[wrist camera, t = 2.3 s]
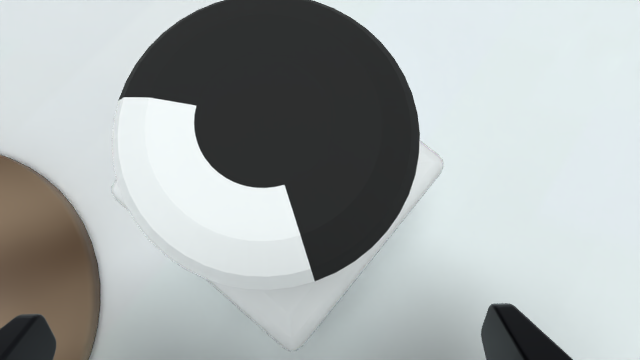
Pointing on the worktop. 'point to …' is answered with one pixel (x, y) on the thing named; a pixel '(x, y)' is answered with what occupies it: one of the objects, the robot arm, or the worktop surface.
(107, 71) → the worktop surface
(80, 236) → the walnut coaster
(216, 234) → the medicine bottle
